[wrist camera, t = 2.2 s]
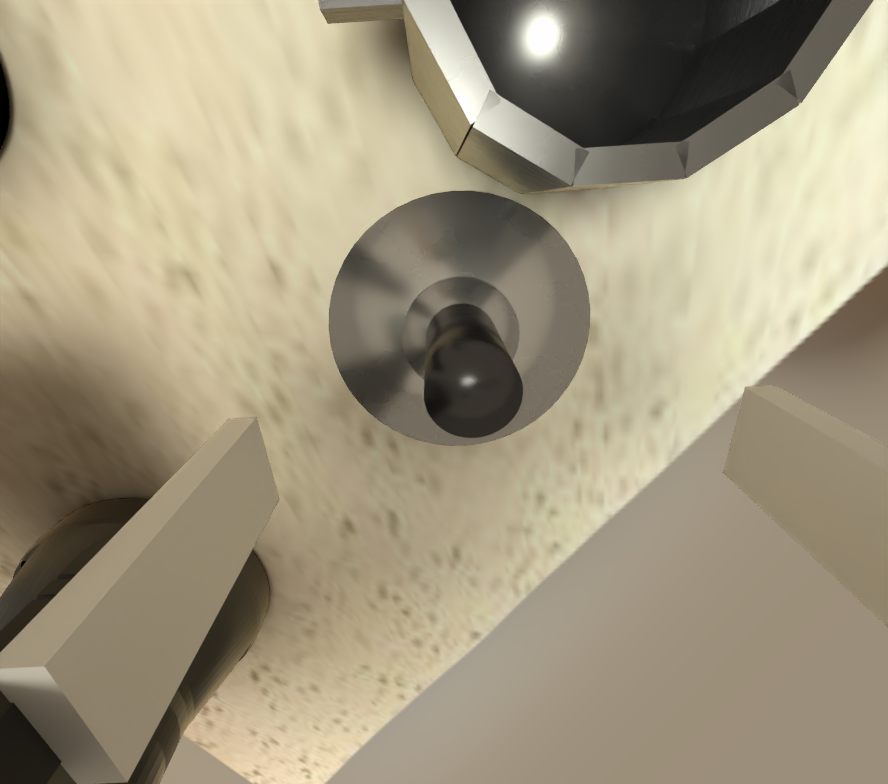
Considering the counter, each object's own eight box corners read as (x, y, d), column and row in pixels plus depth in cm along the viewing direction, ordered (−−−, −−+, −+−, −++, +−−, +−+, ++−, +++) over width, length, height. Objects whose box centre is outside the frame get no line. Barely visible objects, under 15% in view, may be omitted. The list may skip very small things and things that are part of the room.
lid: (355, 442, 26) (322, 548, 18) (310, 201, 20) (233, 203, 12) (574, 426, 26) (636, 525, 18) (592, 180, 20) (696, 168, 12)
